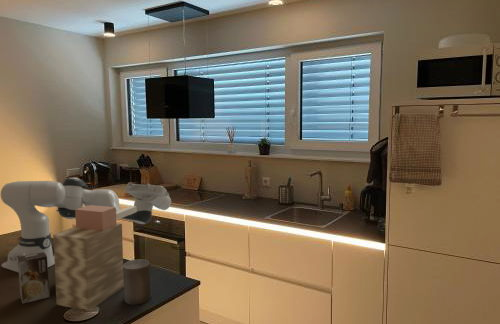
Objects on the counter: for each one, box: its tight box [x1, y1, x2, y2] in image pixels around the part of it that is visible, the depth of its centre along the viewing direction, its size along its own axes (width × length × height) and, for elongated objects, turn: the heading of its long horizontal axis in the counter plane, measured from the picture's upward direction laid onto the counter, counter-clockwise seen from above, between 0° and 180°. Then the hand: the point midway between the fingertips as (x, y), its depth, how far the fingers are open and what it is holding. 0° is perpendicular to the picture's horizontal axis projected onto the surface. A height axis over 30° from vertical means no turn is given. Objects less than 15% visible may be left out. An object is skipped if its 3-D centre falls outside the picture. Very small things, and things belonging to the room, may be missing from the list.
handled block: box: [75, 205, 137, 231], centre depth 153 cm, size 12×28×7 cm, turn 163°
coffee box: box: [18, 252, 51, 305], centre depth 140 cm, size 9×6×16 cm
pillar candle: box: [123, 258, 152, 306], centre depth 140 cm, size 10×10×15 cm
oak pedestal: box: [52, 222, 124, 311], centre depth 142 cm, size 14×20×26 cm
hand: (138, 184), depth 176 cm, fingers open, 8 cm apart
